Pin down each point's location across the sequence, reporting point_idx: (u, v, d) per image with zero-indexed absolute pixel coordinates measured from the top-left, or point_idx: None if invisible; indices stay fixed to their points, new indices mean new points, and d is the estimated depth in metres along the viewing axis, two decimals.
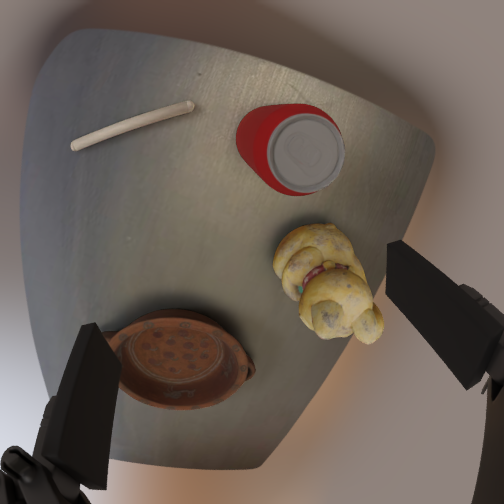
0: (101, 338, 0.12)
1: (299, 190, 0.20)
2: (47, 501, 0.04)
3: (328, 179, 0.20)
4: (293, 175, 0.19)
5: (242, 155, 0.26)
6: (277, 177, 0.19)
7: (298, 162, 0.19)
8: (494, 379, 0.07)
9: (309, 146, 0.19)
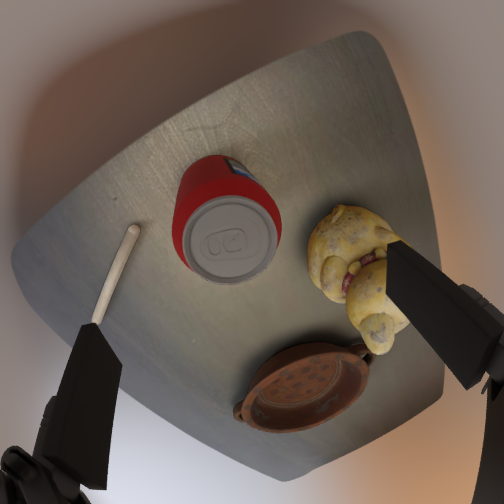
0: (101, 338, 0.12)
1: (255, 274, 0.18)
2: (47, 501, 0.04)
3: (271, 240, 0.18)
4: (238, 268, 0.18)
5: None
6: (226, 283, 0.18)
7: (231, 256, 0.17)
8: (494, 379, 0.07)
9: (224, 236, 0.17)
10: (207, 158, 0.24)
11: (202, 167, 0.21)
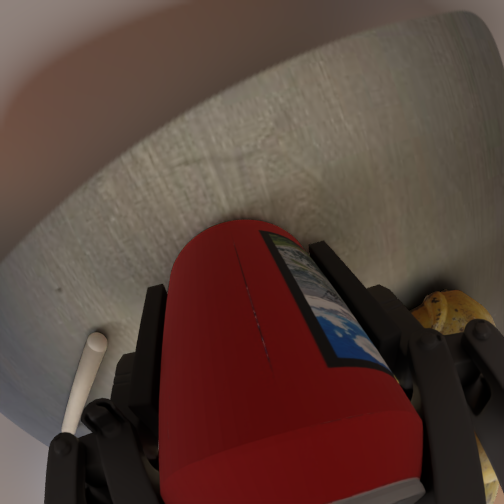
0: None
1: None
2: (129, 462, 0.06)
3: (401, 501, 0.05)
4: None
5: None
6: None
7: None
8: (404, 388, 0.08)
9: None
10: (226, 233, 0.11)
11: (220, 284, 0.08)
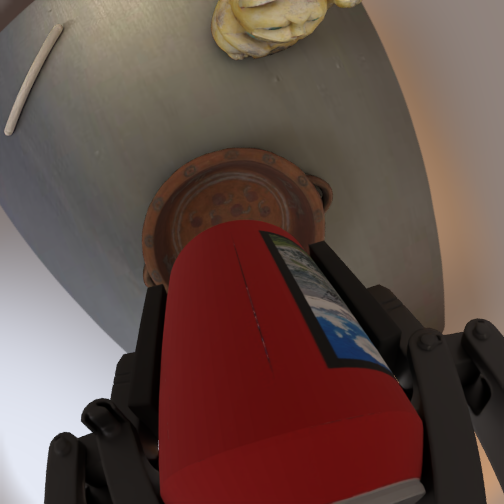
0: None
1: None
2: (128, 462, 0.06)
3: (401, 502, 0.05)
4: None
5: None
6: None
7: None
8: (404, 388, 0.08)
9: None
10: (226, 233, 0.11)
11: (220, 285, 0.08)
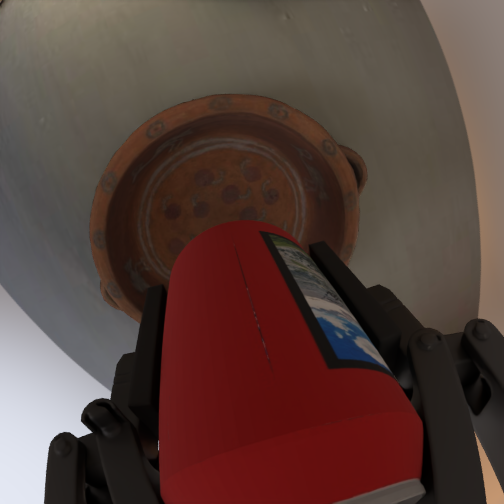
0: None
1: None
2: (128, 462, 0.06)
3: (401, 502, 0.05)
4: None
5: None
6: None
7: None
8: (404, 388, 0.08)
9: None
10: (226, 233, 0.11)
11: (221, 285, 0.08)
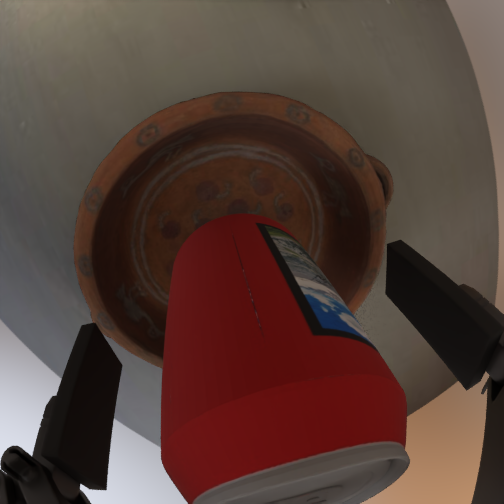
0: (101, 338, 0.12)
1: None
2: (47, 501, 0.04)
3: (388, 473, 0.06)
4: None
5: None
6: None
7: None
8: (494, 379, 0.07)
9: (295, 499, 0.05)
10: (225, 225, 0.12)
11: (219, 268, 0.09)
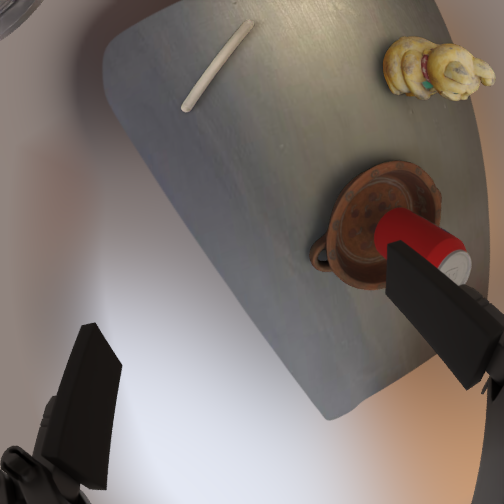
0: (101, 338, 0.12)
1: None
2: (47, 501, 0.04)
3: (466, 273, 0.25)
4: None
5: None
6: None
7: None
8: (494, 379, 0.07)
9: (452, 271, 0.25)
10: (401, 210, 0.32)
11: (415, 222, 0.29)
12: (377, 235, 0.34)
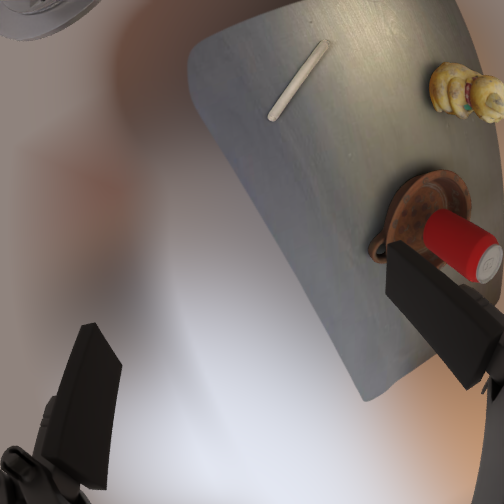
0: (101, 338, 0.12)
1: (491, 278, 0.30)
2: (47, 501, 0.04)
3: (498, 262, 0.29)
4: (487, 275, 0.30)
5: None
6: None
7: (488, 270, 0.29)
8: (494, 379, 0.07)
9: (489, 261, 0.29)
10: (445, 211, 0.36)
11: (459, 221, 0.33)
12: (426, 232, 0.37)
